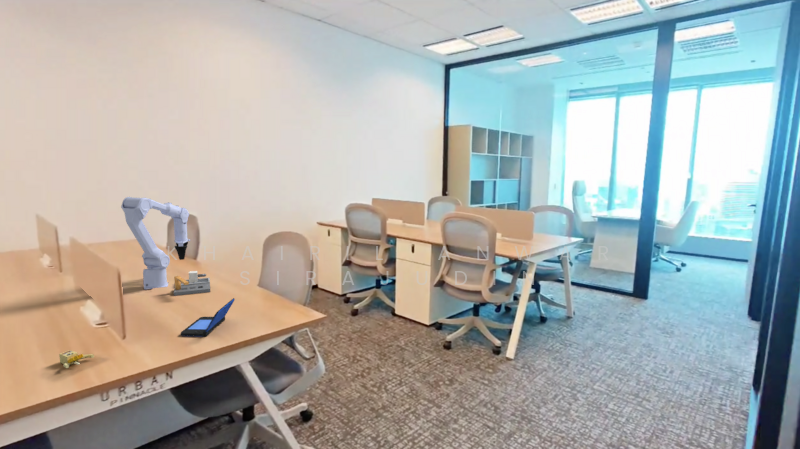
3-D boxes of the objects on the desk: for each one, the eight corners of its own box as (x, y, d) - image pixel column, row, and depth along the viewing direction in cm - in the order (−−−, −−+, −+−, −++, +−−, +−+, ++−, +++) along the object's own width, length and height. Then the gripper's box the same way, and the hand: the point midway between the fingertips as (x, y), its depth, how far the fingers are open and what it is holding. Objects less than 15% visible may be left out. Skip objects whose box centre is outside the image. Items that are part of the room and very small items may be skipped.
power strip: (173, 296, 179) (173, 292, 179) (175, 291, 187) (174, 286, 187) (210, 293, 185) (210, 288, 185) (210, 287, 193) (209, 283, 193)
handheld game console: (201, 320, 154) (200, 296, 153) (236, 320, 154) (235, 297, 153) (178, 337, 139) (177, 311, 137) (218, 338, 139) (217, 312, 137)
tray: (176, 289, 190) (176, 285, 190) (177, 284, 197) (177, 280, 197) (209, 285, 196) (209, 281, 196) (209, 281, 203) (209, 277, 203)
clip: (174, 288, 183) (173, 276, 182) (180, 287, 185) (179, 275, 184) (184, 295, 174) (183, 282, 173) (190, 294, 176) (189, 281, 175)
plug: (189, 285, 194) (188, 273, 193) (189, 283, 197) (188, 271, 196) (206, 284, 197) (206, 271, 196) (206, 282, 200) (206, 270, 199)
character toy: (66, 361, 113) (49, 356, 116) (67, 372, 114) (50, 367, 116) (97, 349, 121) (80, 345, 123) (98, 360, 121) (80, 355, 124)
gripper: (189, 233, 200) (190, 260, 202) (190, 228, 213) (191, 254, 215) (172, 234, 197) (174, 261, 199) (174, 229, 210) (176, 255, 212)
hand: (182, 257), depth 207 cm, fingers open, 7 cm apart
